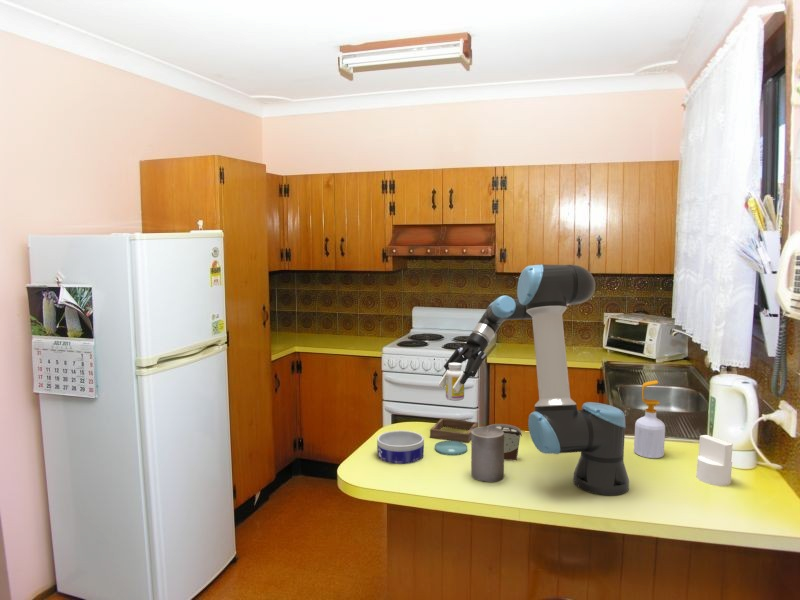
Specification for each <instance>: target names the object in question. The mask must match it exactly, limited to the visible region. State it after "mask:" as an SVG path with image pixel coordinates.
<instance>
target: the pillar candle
mask: <svg viewBox="0 0 800 600" xmlns="http://www.w3.org/2000/svg"><path fill="white" fill-rule="evenodd" d="M488 426H489V425H487V426H478V427H477V428H474V429H473V430H472V432H471V440H470V441H471V443H470V444H471V445H470V446H471V452H470V453H471V455H470V456H471V457H470V459H471V461H470V463H471V464H470V472H471V473H470V475H471V477H472V478H473V479H474V480H476V481H480V482H481V481H482V482H484V483H495V482H499V481H501V480H503V478H504V477H505V460H504V432H503V430H501V429H499V428H496V427H488Z"/></svg>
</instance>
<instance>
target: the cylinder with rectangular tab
mask: <svg viewBox="0 0 800 600" xmlns="http://www.w3.org/2000/svg"><path fill="white" fill-rule="evenodd" d="M698 443H699V444H698V456H697V460H696V461H697V462H696V476H695V477H696V479H698V481H699V482H702V483H704V484H708V485H712V486H719V487H721V486H722V487H724V486H725V487H726V486H729V485H731V483H732V472H733V471H732V468H733V461H732V457H733V445H734V444H733V443H730V442H728V441H725V440H722V439H719V438H716V437H714V436H712V435H708V434H702V435H699V442H698Z"/></svg>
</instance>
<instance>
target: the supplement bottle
mask: <svg viewBox="0 0 800 600" xmlns="http://www.w3.org/2000/svg"><path fill="white" fill-rule="evenodd" d="M462 366H463V363H449V366H448V367H449V370H448V371H447V372H446V385H445V398H446V400H448V401H454V402H458V401H462V400H464V399H465V384H463V385H462V387H461V388H460V390H459V392H458V393H457V392H456V391H455V390H454V389H453V386H454V385H455V383H456V381H457V380H458V378H459V377H460V375H461V374H462V373H463V374H464V372H463V371H464V370H462Z"/></svg>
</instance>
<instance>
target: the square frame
mask: <svg viewBox="0 0 800 600" xmlns="http://www.w3.org/2000/svg"><path fill="white" fill-rule="evenodd" d="M477 427H479V422H477V421H469V420H468V421H467V420H461V419H459V420H458V419H452V418H451V419H450V418H443V417H442V418H440V419H439V420H438V421H437V422H436V423H435V424H434V425H433V426H432V427H431V428H430V430H429V438H430V439H436V440H443V441H458V442H462V443H464V444H469V443H470V441H471V432H472V430H473V429H474V428H477ZM443 428H448V429H456V430H464V431H465V430H466V431H467V432H458V431H452V430H451V431H450V430H443Z"/></svg>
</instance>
